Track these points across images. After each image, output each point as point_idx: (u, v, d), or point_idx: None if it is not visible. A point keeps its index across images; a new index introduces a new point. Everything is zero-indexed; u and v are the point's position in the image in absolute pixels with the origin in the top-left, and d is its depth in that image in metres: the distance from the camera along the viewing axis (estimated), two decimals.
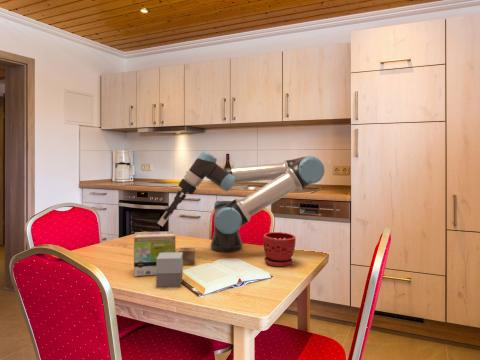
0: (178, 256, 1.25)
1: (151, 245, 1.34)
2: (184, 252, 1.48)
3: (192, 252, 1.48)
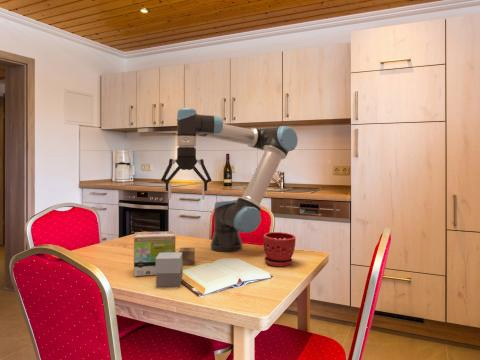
0: (177, 256, 1.25)
1: (151, 245, 1.34)
2: (184, 252, 1.48)
3: (192, 252, 1.48)
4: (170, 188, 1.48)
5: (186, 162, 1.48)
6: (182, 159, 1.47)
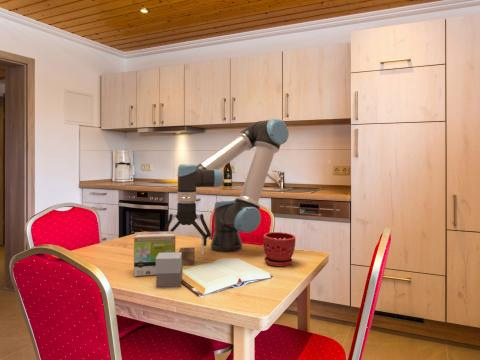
0: (177, 256, 1.25)
1: (151, 245, 1.34)
2: (184, 252, 1.48)
3: (192, 252, 1.48)
4: None
5: (186, 217, 1.49)
6: (182, 214, 1.48)
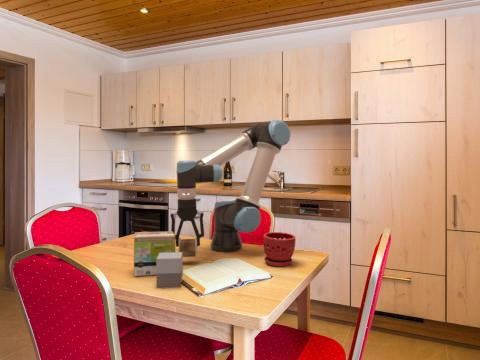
0: (178, 256, 1.25)
1: (151, 245, 1.34)
2: (185, 243, 1.48)
3: (193, 243, 1.48)
4: None
5: (187, 213, 1.49)
6: (182, 209, 1.48)
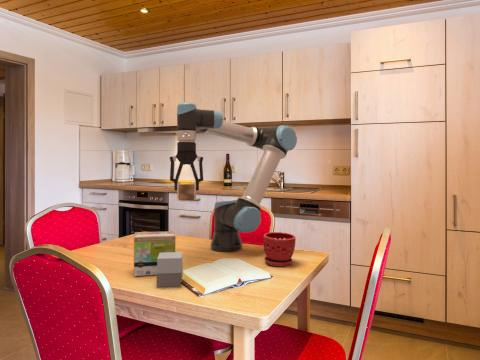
0: (179, 256, 1.25)
1: (151, 245, 1.34)
2: (184, 186, 1.46)
3: (192, 186, 1.46)
4: None
5: (186, 157, 1.47)
6: (181, 152, 1.47)
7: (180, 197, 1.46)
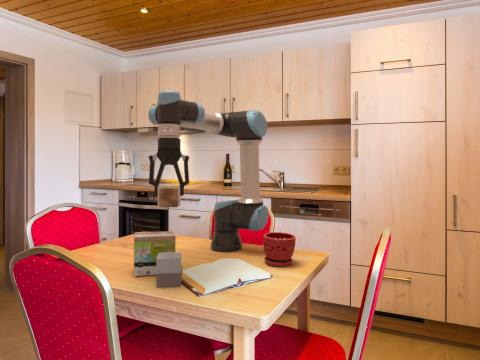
0: (178, 256, 1.25)
1: (151, 245, 1.34)
2: (166, 190, 1.22)
3: (175, 191, 1.22)
4: None
5: (168, 156, 1.23)
6: (162, 150, 1.23)
7: (161, 204, 1.22)
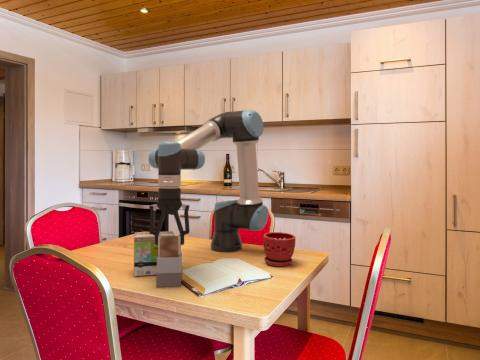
0: (178, 256, 1.25)
1: (151, 245, 1.34)
2: (166, 241, 1.23)
3: (176, 241, 1.23)
4: None
5: (169, 206, 1.24)
6: (163, 201, 1.24)
7: (161, 254, 1.23)
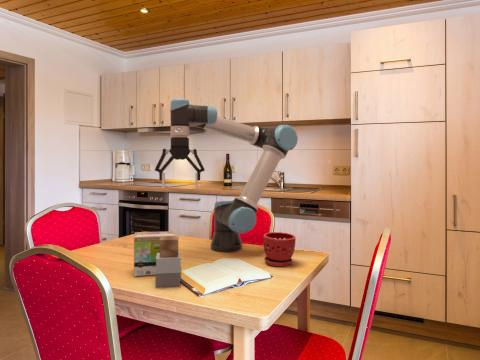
0: None
1: (151, 245, 1.34)
2: (166, 241, 1.23)
3: (176, 241, 1.23)
4: (164, 177, 1.51)
5: (179, 152, 1.50)
6: (175, 149, 1.50)
7: (161, 254, 1.23)
